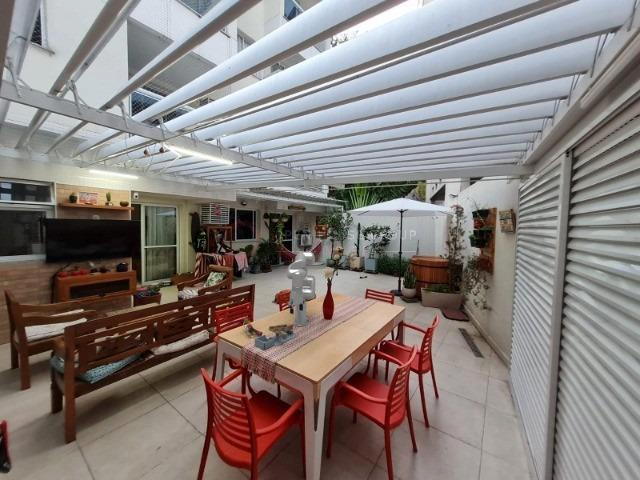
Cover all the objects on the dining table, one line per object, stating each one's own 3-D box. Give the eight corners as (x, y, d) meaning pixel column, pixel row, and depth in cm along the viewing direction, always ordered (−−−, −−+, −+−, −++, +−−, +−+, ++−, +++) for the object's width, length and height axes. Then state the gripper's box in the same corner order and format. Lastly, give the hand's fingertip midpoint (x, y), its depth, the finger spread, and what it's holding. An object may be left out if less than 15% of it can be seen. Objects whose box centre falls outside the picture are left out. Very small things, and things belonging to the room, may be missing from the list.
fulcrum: (286, 331, 201) (286, 321, 201) (297, 336, 194) (297, 325, 193) (265, 340, 185) (265, 329, 184) (276, 346, 177) (276, 334, 177)
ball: (288, 326, 198) (289, 322, 198) (291, 328, 196) (292, 323, 196) (284, 326, 195) (285, 322, 195) (288, 328, 193) (289, 323, 193)
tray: (264, 340, 185) (265, 334, 184) (274, 345, 178) (274, 338, 178) (254, 345, 178) (254, 338, 177) (264, 350, 171) (264, 343, 171)
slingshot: (259, 328, 206) (266, 329, 194) (252, 340, 201) (258, 341, 189) (243, 317, 201) (249, 317, 189) (235, 328, 196) (241, 329, 184)
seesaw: (287, 327, 199) (287, 323, 200) (301, 333, 190) (302, 328, 190) (268, 329, 184) (268, 325, 184) (282, 336, 174) (283, 331, 175)
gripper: (301, 285, 189) (301, 307, 190) (284, 289, 176) (284, 313, 177) (309, 287, 184) (308, 310, 186) (292, 292, 171) (291, 316, 172)
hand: (296, 312), depth 181 cm, fingers open, 9 cm apart
